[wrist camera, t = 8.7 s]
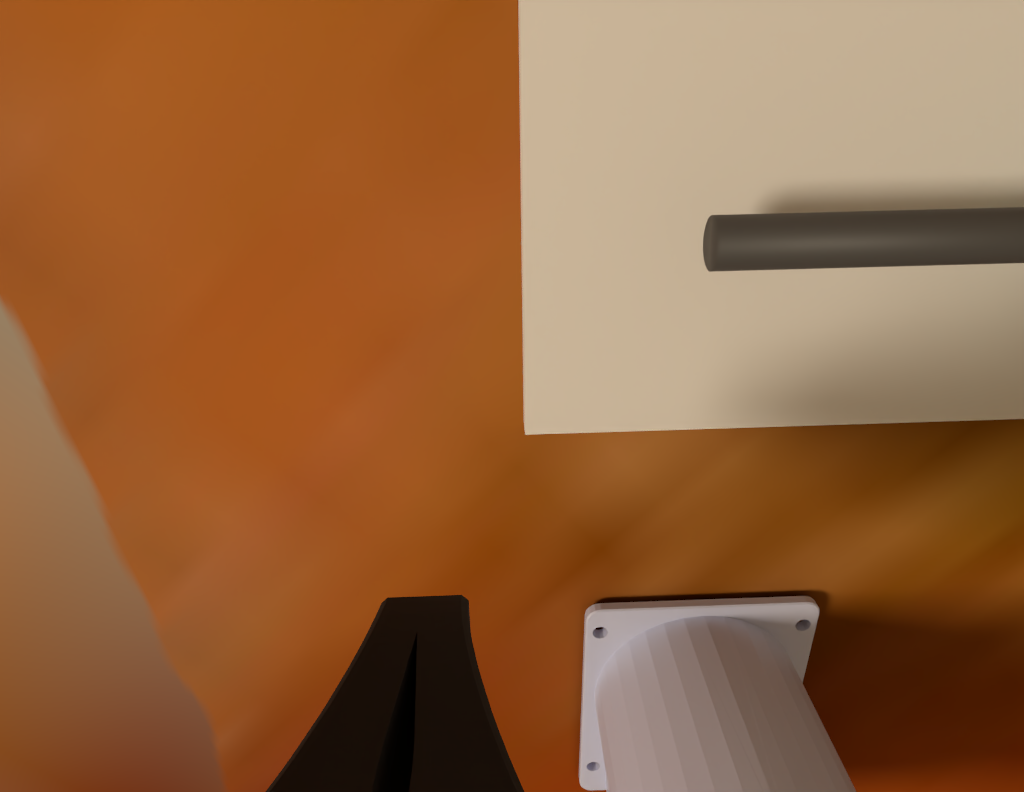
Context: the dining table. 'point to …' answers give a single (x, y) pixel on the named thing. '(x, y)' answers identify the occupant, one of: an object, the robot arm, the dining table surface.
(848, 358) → the rod stand
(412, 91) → the dining table surface
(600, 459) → the dining table surface
